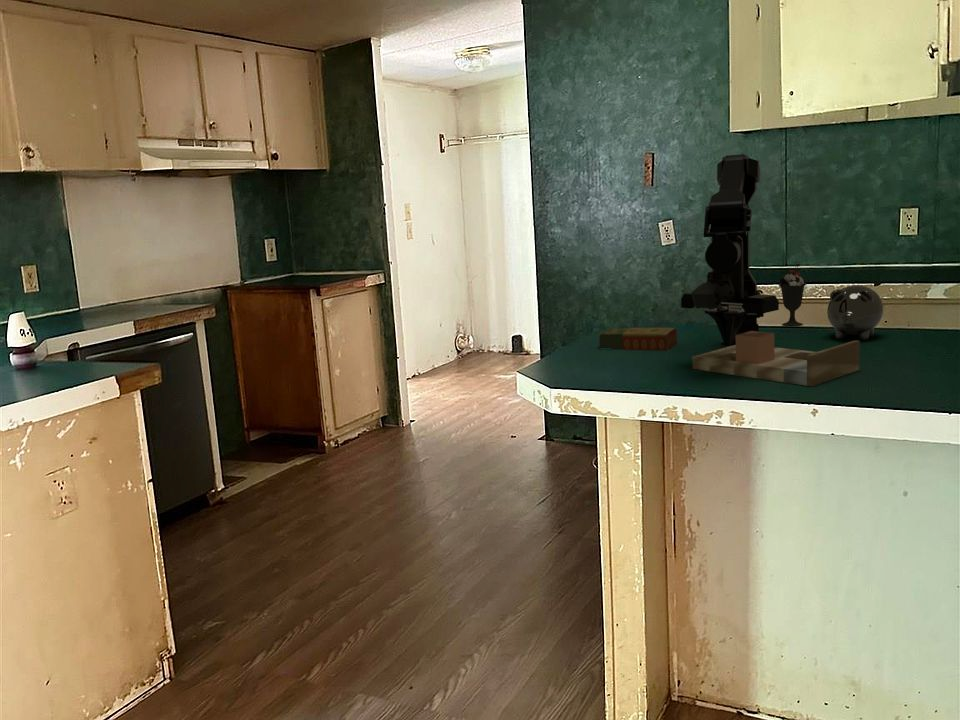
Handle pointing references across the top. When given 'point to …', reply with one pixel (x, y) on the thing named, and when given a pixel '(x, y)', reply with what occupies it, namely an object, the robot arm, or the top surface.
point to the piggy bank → (854, 311)
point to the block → (755, 347)
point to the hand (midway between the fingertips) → (728, 345)
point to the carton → (639, 338)
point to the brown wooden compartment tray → (786, 364)
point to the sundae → (792, 295)
